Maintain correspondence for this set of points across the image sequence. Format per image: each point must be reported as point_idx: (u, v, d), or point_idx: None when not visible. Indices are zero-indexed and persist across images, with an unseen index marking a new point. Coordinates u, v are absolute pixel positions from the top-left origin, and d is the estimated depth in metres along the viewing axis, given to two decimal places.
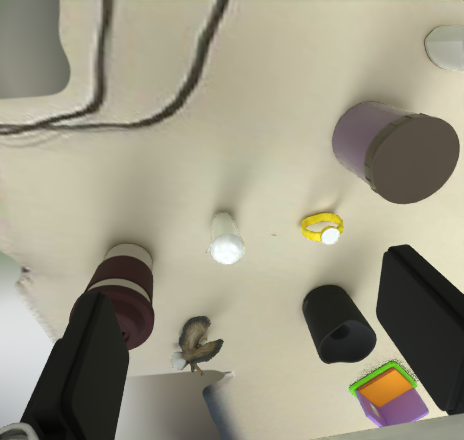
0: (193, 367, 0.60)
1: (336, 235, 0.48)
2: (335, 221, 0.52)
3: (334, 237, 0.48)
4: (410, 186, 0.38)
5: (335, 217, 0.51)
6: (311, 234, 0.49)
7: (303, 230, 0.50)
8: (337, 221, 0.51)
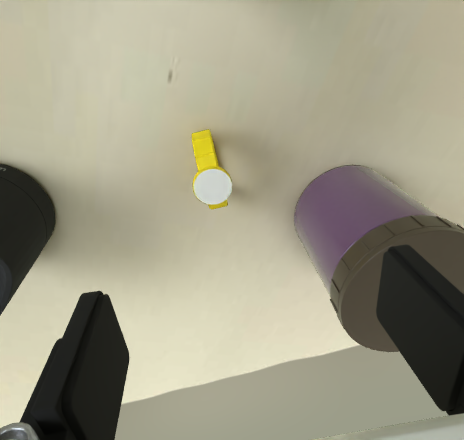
0: None
1: (212, 199, 0.24)
2: None
3: (208, 195, 0.24)
4: (375, 301, 0.21)
5: None
6: (208, 149, 0.23)
7: (204, 133, 0.24)
8: None
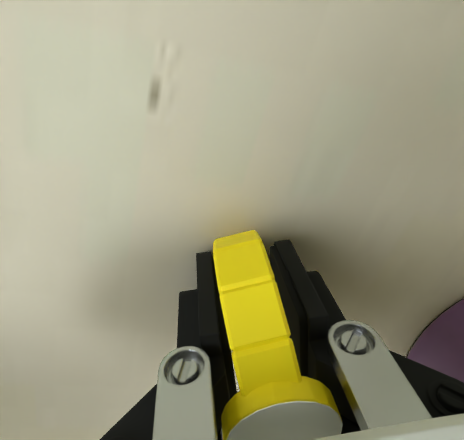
0: None
1: None
2: None
3: None
4: None
5: None
6: (270, 322, 0.08)
7: (252, 258, 0.09)
8: None
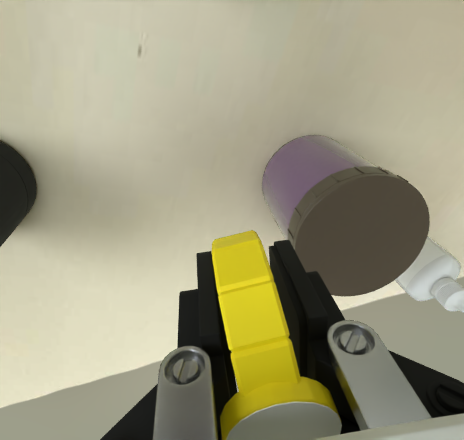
0: None
1: None
2: None
3: None
4: (325, 245, 0.24)
5: None
6: (269, 323, 0.08)
7: (251, 259, 0.09)
8: None
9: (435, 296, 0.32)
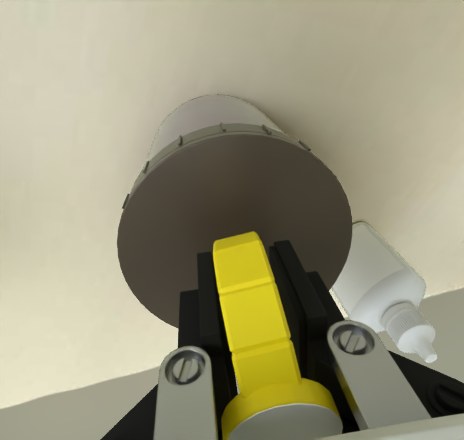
0: None
1: None
2: None
3: None
4: (173, 257, 0.14)
5: None
6: (270, 324, 0.08)
7: (252, 260, 0.09)
8: None
9: (386, 329, 0.22)
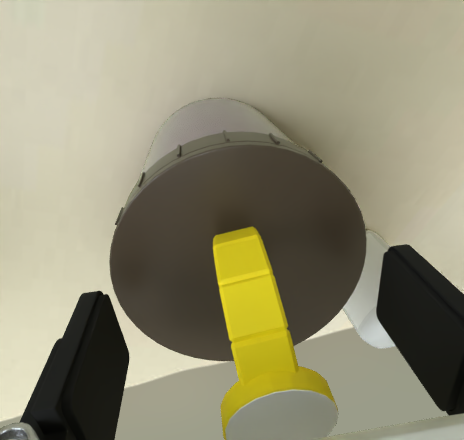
0: None
1: None
2: None
3: None
4: (171, 278, 0.13)
5: None
6: (268, 314, 0.08)
7: (251, 253, 0.09)
8: None
9: None
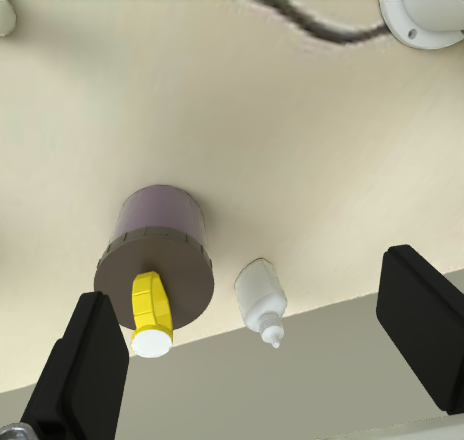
0: None
1: (152, 352, 0.24)
2: None
3: (148, 350, 0.23)
4: (122, 291, 0.28)
5: (168, 325, 0.28)
6: (147, 305, 0.23)
7: (145, 284, 0.24)
8: None
9: (259, 329, 0.36)
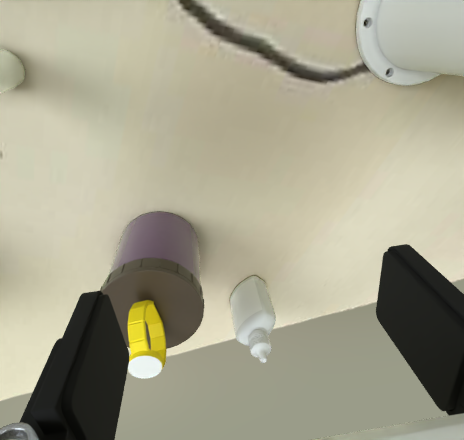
0: None
1: (146, 374, 0.27)
2: (154, 347, 0.31)
3: (142, 372, 0.27)
4: (121, 316, 0.32)
5: (162, 346, 0.31)
6: (140, 334, 0.27)
7: (139, 313, 0.28)
8: (155, 351, 0.31)
9: (249, 344, 0.39)
